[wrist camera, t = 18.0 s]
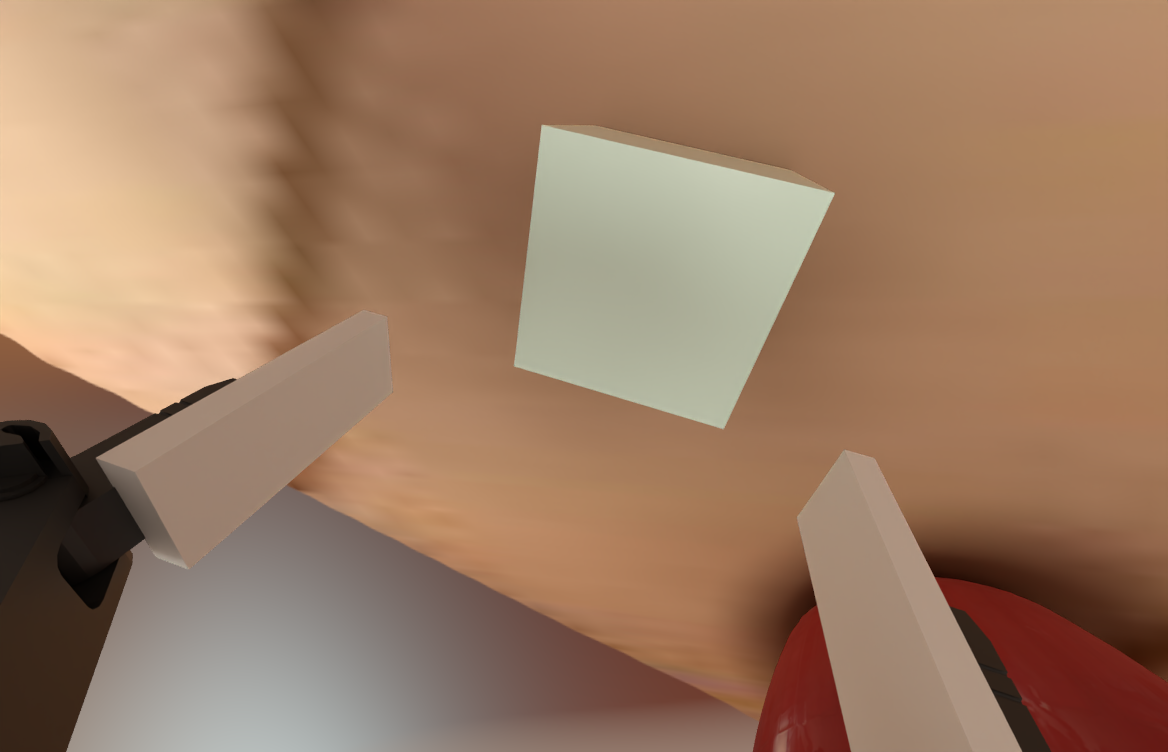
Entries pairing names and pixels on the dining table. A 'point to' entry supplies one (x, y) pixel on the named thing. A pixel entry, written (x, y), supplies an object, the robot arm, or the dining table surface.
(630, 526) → the dining table surface
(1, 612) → the robot arm
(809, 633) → the mixing bowl
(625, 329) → the pale green brick
